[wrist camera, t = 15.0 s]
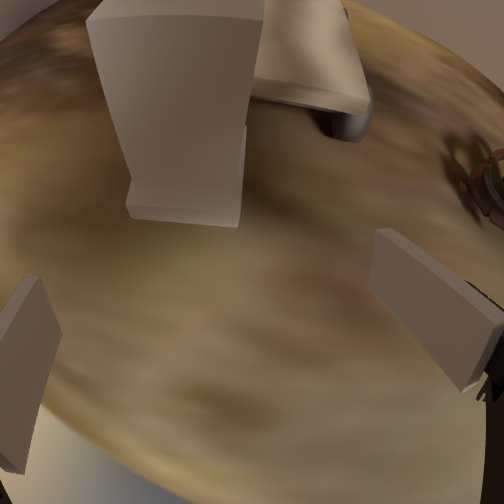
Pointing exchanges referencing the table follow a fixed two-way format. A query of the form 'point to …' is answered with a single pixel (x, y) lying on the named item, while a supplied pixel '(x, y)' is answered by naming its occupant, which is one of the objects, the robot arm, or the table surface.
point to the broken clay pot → (488, 190)
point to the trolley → (313, 64)
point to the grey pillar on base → (179, 101)
